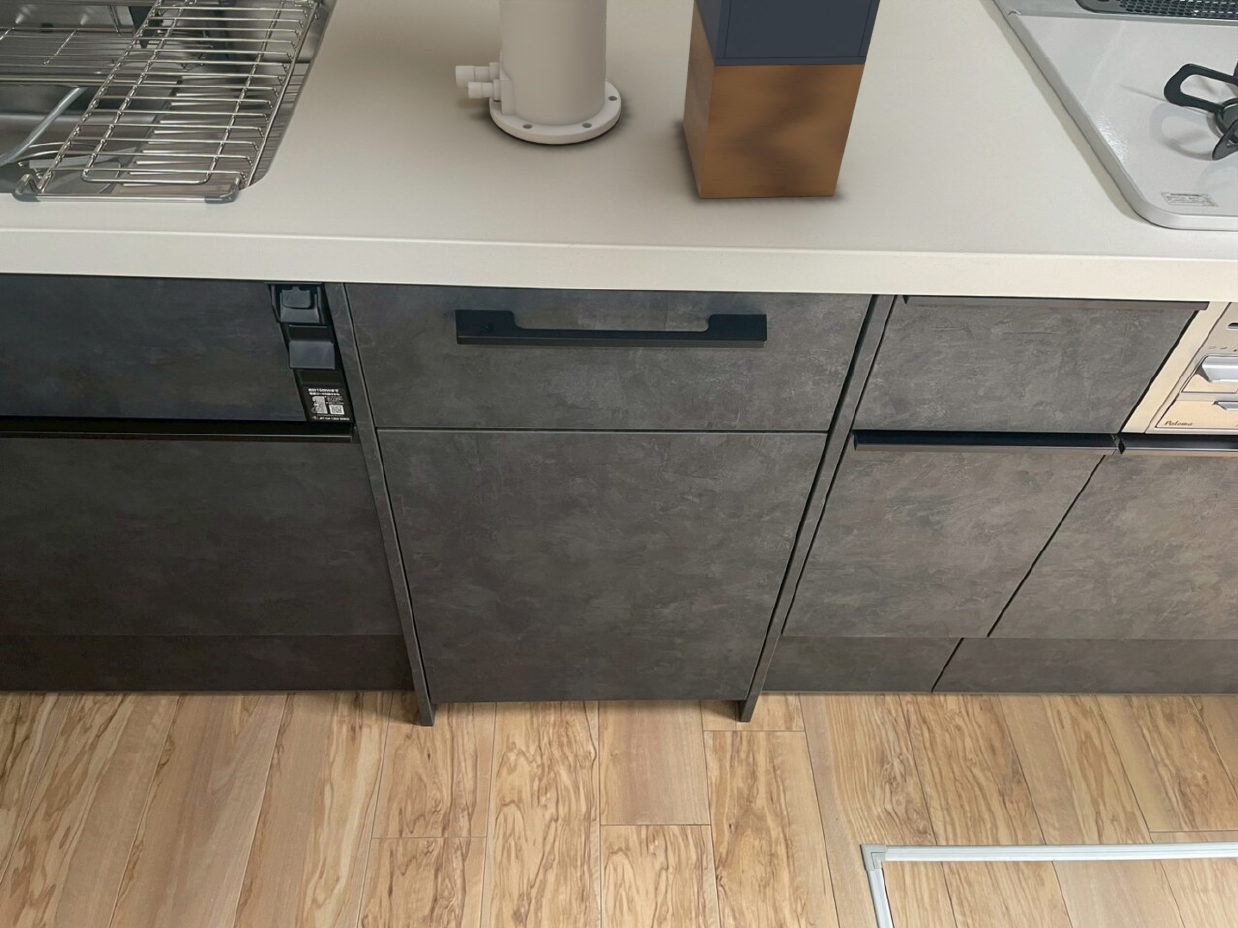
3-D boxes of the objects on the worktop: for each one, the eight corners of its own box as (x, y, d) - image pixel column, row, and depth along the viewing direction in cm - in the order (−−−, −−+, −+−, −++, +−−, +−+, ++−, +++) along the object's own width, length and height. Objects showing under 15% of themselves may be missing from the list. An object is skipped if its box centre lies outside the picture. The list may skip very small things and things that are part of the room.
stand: (699, 198, 82) (714, 66, 73) (682, 125, 90) (694, -3, 80) (834, 195, 83) (865, 64, 74) (805, 123, 91) (831, -4, 81)
